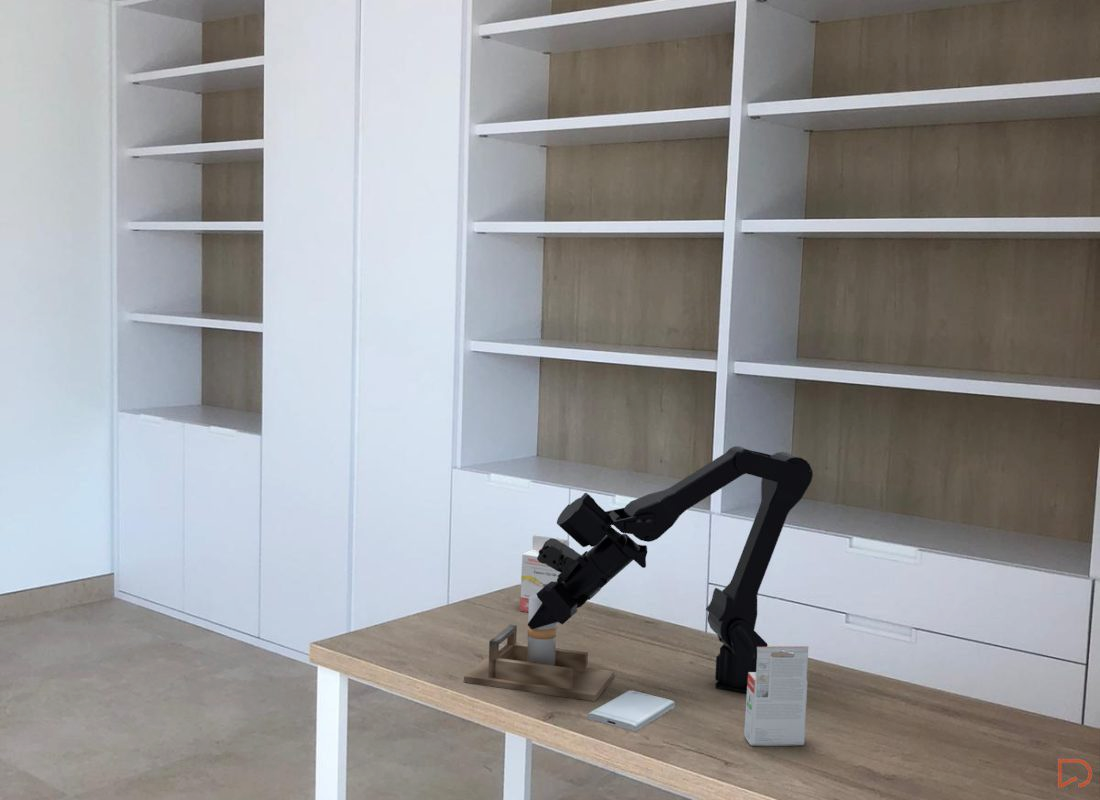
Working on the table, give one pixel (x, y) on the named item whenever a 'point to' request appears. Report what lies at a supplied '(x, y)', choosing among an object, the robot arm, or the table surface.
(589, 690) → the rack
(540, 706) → the table surface
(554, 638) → the white capped grey cylinder
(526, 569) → the ink cartridge box
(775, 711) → the ink box
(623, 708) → the hard drive
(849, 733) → the table surface
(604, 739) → the table surface
